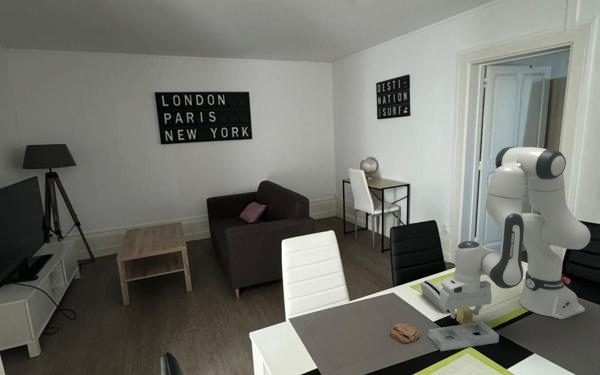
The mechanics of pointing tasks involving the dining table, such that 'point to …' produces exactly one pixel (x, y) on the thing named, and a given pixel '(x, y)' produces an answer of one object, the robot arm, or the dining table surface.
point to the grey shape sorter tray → (463, 336)
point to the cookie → (404, 333)
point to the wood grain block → (464, 315)
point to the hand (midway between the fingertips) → (464, 316)
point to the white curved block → (432, 293)
